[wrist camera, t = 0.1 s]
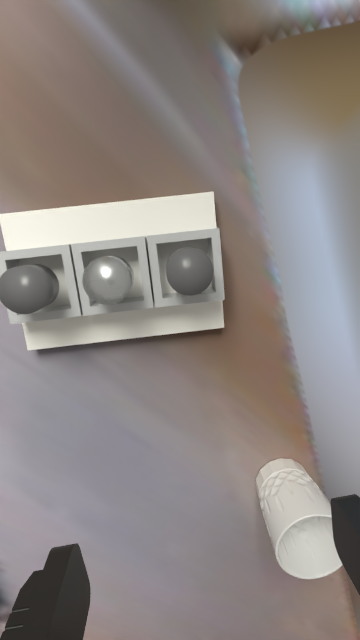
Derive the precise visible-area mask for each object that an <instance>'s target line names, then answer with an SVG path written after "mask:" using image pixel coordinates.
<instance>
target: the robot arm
mask: <svg viewBox="0 0 360 640" xmlns="http://www.w3.org/2000/svg"><path fill="white" fill-rule="evenodd" d="M331 516H332V529H333V540H334V544H335V548H336V551H337V553H338V556H339V558H340V560H341V562H342V564H343V566H344V568H345V569H346V571H347V573H348V575H349V577H350V578H351V580H352V582H353V584H354V586H355V587H356V589H357V591H358V593H359V595H360V498H359V497H358V496H357V495H355V494H354V495H349V496H343V497H338V498H333V499H331ZM89 605H90V583H89V579H88V575H87V571H86V568H85V564H84V561H83V557H82V554H81V550H80V547H79V545H78V544H71V545H65V546H60V547H54V548H52V549H51V551H50V553H49V555H48V558H47V561H46V563H45V566H44V569H43V570H39V571H34V572H33V573H32V575H31V576H30V577H29V579H28V580H27V581H26V583H25V584H24V585H23V587H22V588H21V589H20V592H19V594H18V596H17V599H16V601H15V604H14V606H13V609H12V614H10V616H9V618H8V621H7V623H6V626H5V631H3V633H2V636H1V638H0V640H83V636H84V631H85V626H86V621H87V616H88V611H89Z"/></svg>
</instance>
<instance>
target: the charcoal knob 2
mask: <svg viewBox="0 0 360 640" xmlns="http://www.w3.org/2000/svg"><path fill="white" fill-rule="evenodd" d="M213 274H214V269H213V264H212V262H211V260H210V258H209V257H208V255H207V254H206V253H204V252H203V251H201V250H199V249H196V248H191V247H184V248H180V249H178V250H176V251H174V252H173V253H172V254H171V255H170V257H169V258H168V260H167V263H166V276H167V280H168V282H169V284H170V286H171V287H172V288H173V289H174V290H175V291H176V292H178V293H180V294H183V295H188V296H192V295H197V294H199V293H201V292H203V291H204V290H206V289H207V288H208V286H209V285H210V283H211V281H212V279H213Z"/></svg>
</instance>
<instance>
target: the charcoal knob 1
mask: <svg viewBox="0 0 360 640" xmlns="http://www.w3.org/2000/svg"><path fill="white" fill-rule="evenodd" d="M58 293H59V281H58V279H57V276H56V275H55V273H54V272H53V271H52V270H51V269H50V268H48V267H46V266H44V265H41V264H29V265H23V266H17V267H13V268H10V269H8V270H7V271H5V272H4V273H3V274H2V275H1V277H0V300H1V302H2V303H3V304H4V305H5V306H6V307H7V308H8V309H9V310H11V311H13V312H15V313H18V314H31V313H34V312H36V311H38V310H40V309H41V308H43V307H45V306H47V305H49V304H50V303H52V302H53V301H54V300H55V299H56V297H57V295H58Z"/></svg>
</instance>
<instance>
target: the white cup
mask: <svg viewBox="0 0 360 640" xmlns="http://www.w3.org/2000/svg"><path fill="white" fill-rule="evenodd" d="M256 491H257V494H258V497H259V500H260V506H261V509H262V512H263V516H264V520H265V523H266V527H267V530H268V533H269V536H270V539H271V542H272V546H273V549H274V552H275V555H276V559H277V561H278V563H279V565H280V567H281V568H282V569H283V570H284V571H285V572H286V573H288V574H290V575H291V576H294V577H296V578H300V579H317V578H322V577H325V576H327V575H330V574H331V573H333V572H335V571H336V570H338V569H339V568H340V567H341V566H342V565H343V564H342V562H341V560H340V558H339V556H338V553H337V551H336V548H335V544H334V540H333V529H332V516H331V503H330V502H329V500H328V499H327V497H326V496H325V495H324V494H323V492H322V491H321V489H320V488H319V487H318V486H317V484H316V483H315V482H314V481H313V480H312V479H311V478H310V476H309V475H308V474H307V472H306V471H305V469H304V468H303V466H302V465H301V464H299V463H298V462H296V461H294V460H292V459H283V458H279V459H276V460H273V461H270V462H268V463H267V464H266V465H265V466H264V467H262V468H261V469H260V471H259V473H258V475H257V478H256Z"/></svg>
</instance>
